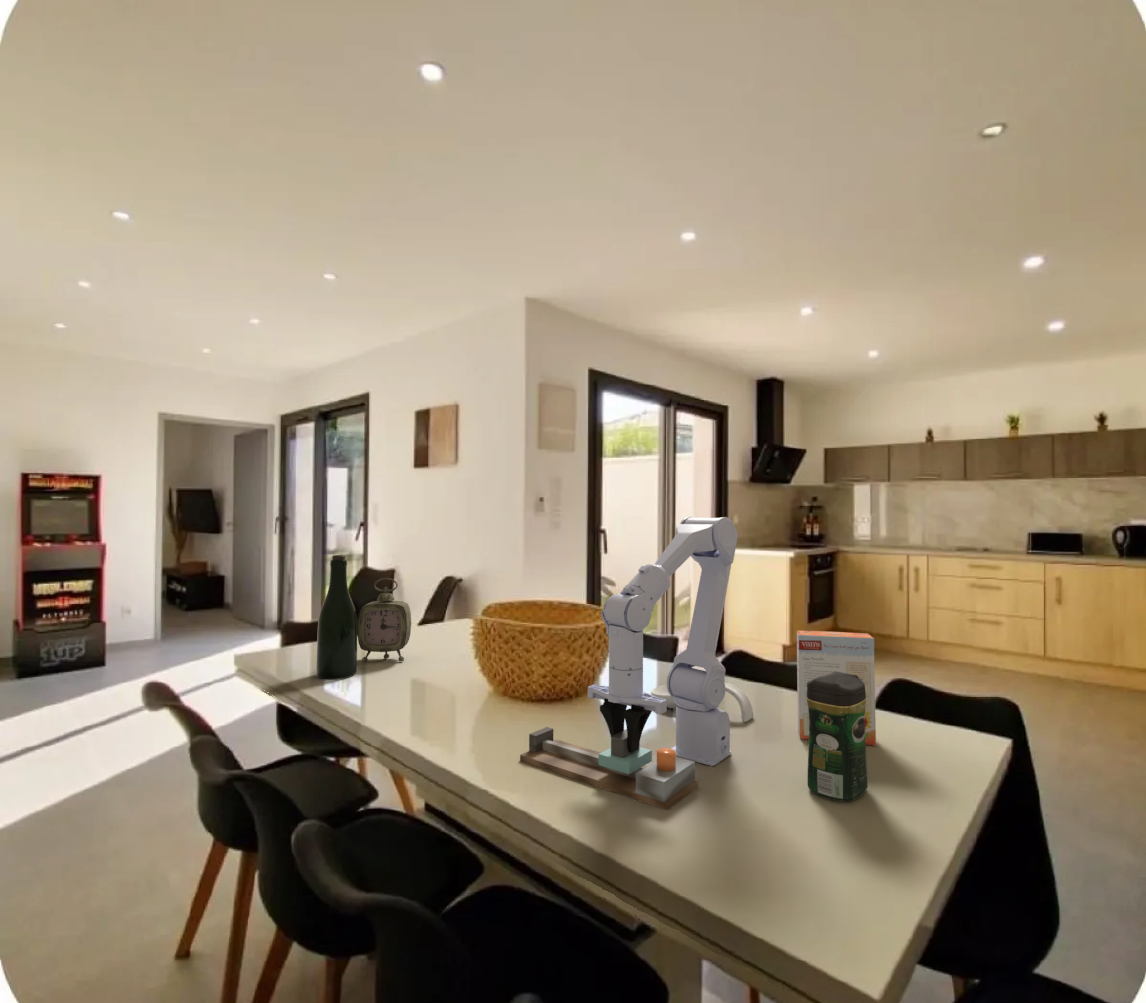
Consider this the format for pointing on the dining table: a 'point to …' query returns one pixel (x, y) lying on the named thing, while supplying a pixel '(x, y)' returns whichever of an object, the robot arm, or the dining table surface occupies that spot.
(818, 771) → the coffee jar
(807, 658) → the cracker box
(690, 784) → the rail board
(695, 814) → the dining table surface
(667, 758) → the button
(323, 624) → the green wine bottle
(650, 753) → the carriage
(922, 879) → the dining table surface
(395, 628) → the tabletop clock
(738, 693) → the spoon rest
